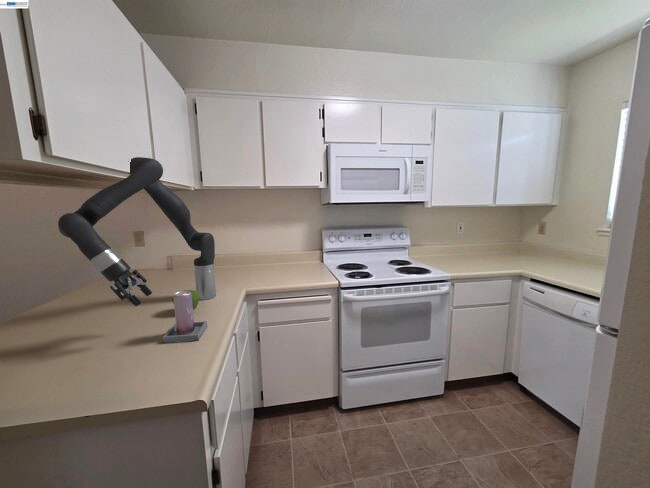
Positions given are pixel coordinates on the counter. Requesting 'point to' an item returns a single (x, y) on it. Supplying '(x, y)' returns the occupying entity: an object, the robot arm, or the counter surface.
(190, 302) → the beverage can
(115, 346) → the counter surface
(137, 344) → the counter surface
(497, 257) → the counter surface
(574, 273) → the counter surface
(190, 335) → the tray
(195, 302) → the apple
